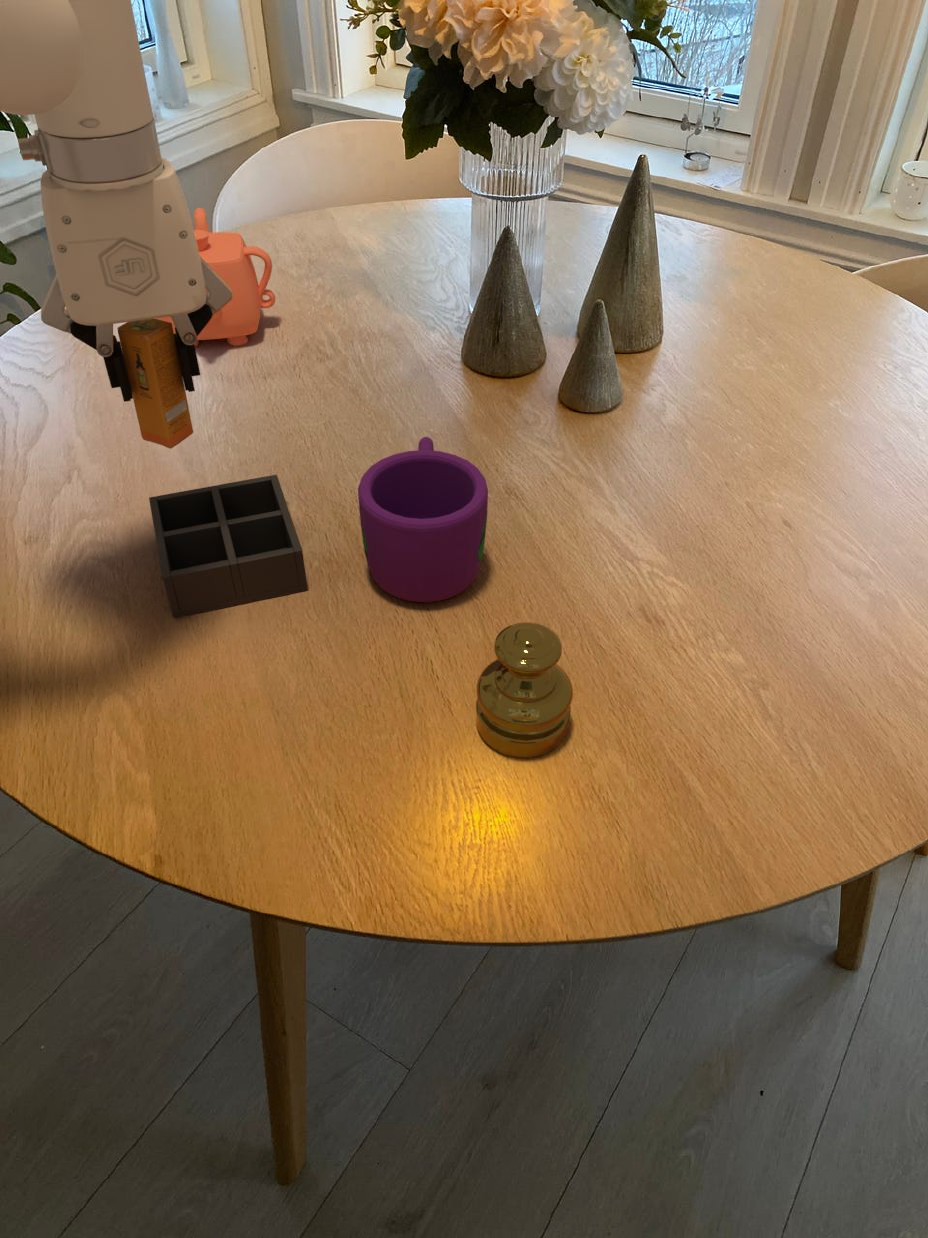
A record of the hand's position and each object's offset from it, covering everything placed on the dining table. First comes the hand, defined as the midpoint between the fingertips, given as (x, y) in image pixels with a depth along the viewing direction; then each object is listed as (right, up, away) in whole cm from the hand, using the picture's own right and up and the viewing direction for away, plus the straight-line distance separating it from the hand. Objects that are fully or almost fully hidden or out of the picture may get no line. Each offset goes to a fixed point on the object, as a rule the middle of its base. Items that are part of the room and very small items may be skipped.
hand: (157, 386), depth 78 cm
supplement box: (0, -4, +3) cm, 5 cm away
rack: (+3, -14, +13) cm, 19 cm away
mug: (+21, -13, +14) cm, 29 cm away
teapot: (-7, +18, +46) cm, 50 cm away
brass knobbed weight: (+30, -27, -1) cm, 40 cm away
